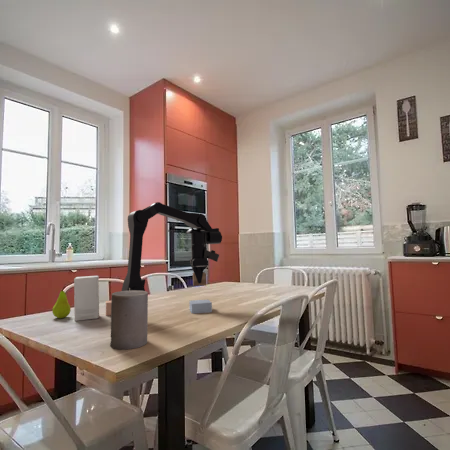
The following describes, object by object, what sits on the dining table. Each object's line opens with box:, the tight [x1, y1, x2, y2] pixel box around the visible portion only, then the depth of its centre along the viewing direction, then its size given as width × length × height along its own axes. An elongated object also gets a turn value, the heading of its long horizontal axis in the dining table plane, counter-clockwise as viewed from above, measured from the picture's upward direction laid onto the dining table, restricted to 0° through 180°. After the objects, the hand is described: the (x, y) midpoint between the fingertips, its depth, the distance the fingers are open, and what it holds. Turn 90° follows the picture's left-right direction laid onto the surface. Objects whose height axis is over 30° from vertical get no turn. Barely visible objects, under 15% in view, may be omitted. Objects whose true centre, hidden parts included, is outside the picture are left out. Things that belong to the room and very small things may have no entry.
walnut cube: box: [192, 271, 207, 287], centre depth 125 cm, size 5×5×5 cm
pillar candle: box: [109, 288, 149, 350], centre depth 83 cm, size 10×10×15 cm
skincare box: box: [73, 275, 100, 322], centre depth 116 cm, size 8×7×16 cm
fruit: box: [51, 285, 72, 319], centre depth 117 cm, size 6×6×12 cm
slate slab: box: [188, 299, 213, 314], centre depth 125 cm, size 8×8×4 cm
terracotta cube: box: [104, 300, 111, 317], centre depth 122 cm, size 5×5×5 cm
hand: (199, 282), depth 125 cm, fingers closed on walnut cube, 5 cm apart
